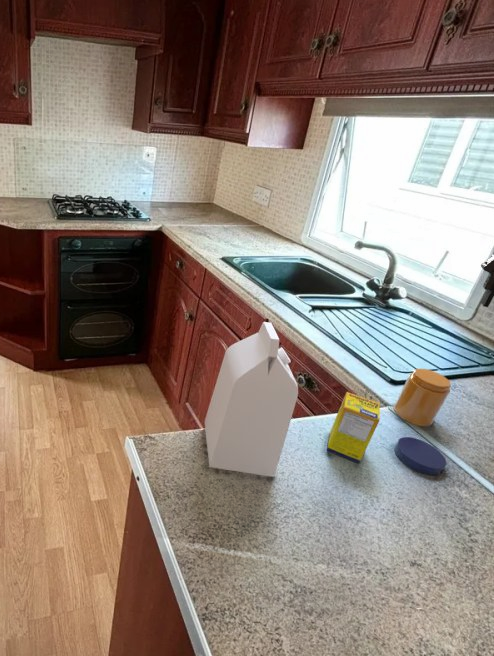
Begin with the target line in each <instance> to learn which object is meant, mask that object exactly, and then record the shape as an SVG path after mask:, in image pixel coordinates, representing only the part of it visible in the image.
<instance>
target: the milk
mask: <svg viewBox="0 0 494 656" xmlns="http://www.w3.org/2000/svg"><path fill="white" fill-rule="evenodd" d="M290 363H292V362H291V358H290V357H289V355H288V354H287V352H286V351H285V349H284V348H283V347H280V338H279V336H278V334H277V331H276V330H275V328H274V326H273V324H272V322H268V321H262V323H261V326H260V328H259V330H258V332H256V333H254V334H252V335H249V336H248V337H244V338H243V339H241V340H239V341H237V342H235V343H233V344H231V345H230V346H229V347H227V349H226V350H225V352H224V356H223V359H222V363H221V365H220V368H219V372H218V374H217V375H218V376H217V378H216V382H215V386H214V388H213V392H212V395H211V399H210V402H209V405H208V409H207V412H206V415H205V418H204V430H205V440H206V449H207V456H208V463H209V464H208V466H209V468H211V469H218V470H219V469H220V470H227V471H233V472H239V473H244V474H245V473H246V474H250V475H251V474H252V475H258V476H264V477H272V478H275V475H276V472H277V469H278V465H279V461H280V459H281V454H282V452H283V448H284V445H285V441H286V438H287V434H288V431H289V427H290V424H291V420H292V417H293V414H294V411H295V407H296V404H297V400H298V397H299V385H298V382H297V381H296V378H295V376H294V374H293V372H292V369H291V368H290V366H289V364H290Z"/></svg>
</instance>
